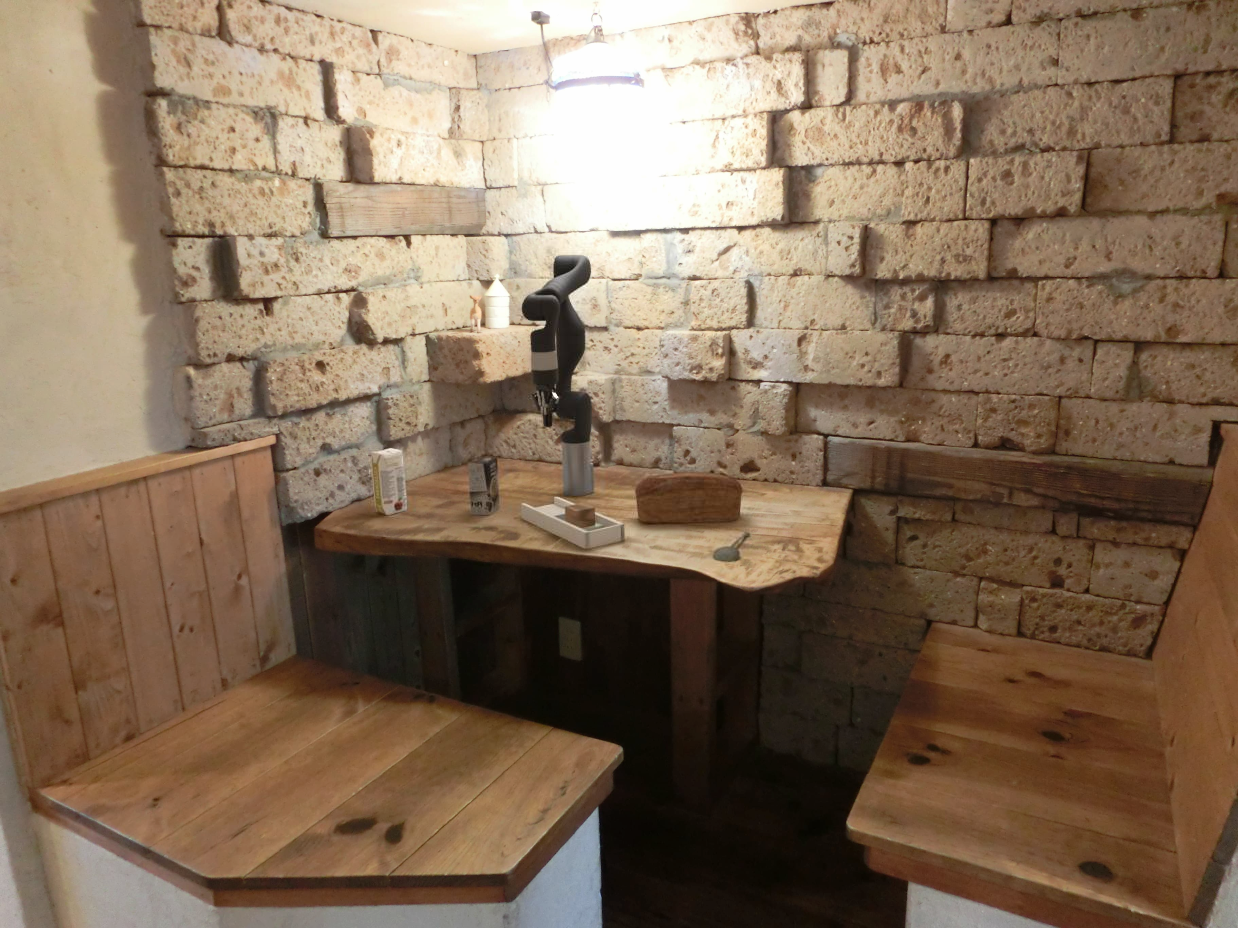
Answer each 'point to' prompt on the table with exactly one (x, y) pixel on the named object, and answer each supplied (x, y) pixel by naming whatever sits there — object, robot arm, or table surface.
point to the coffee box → (483, 485)
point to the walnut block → (580, 515)
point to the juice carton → (388, 481)
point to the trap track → (584, 537)
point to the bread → (688, 498)
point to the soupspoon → (729, 551)
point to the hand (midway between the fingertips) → (548, 426)
